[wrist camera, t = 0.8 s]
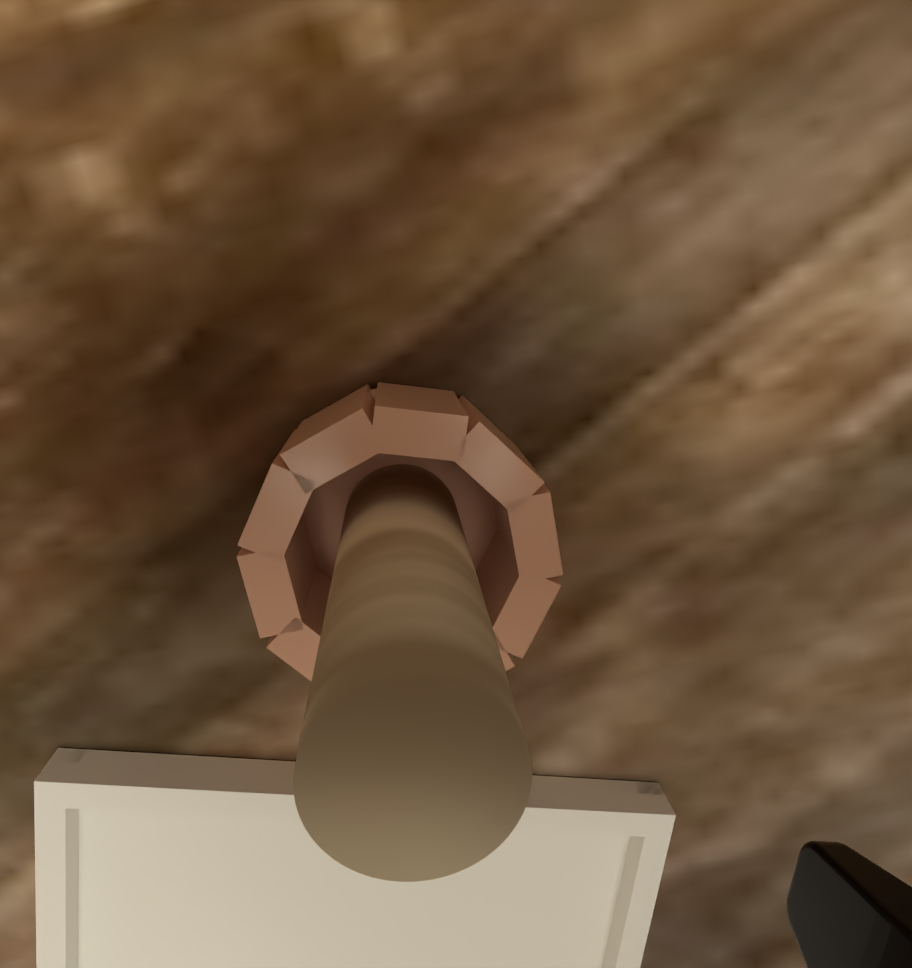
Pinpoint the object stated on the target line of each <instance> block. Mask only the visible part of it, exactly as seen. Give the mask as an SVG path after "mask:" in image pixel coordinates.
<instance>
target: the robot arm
mask: <svg viewBox="0 0 912 968" xmlns="http://www.w3.org/2000/svg"><path fill="white" fill-rule="evenodd" d="M787 913H788V918H789V921H790V925H791V927H792V930H793V932H794V935H795V938H796V940H797V943H798V945H799V948H800V951H801V953H802V956H803V958H804V961H805V964H806V966H807V968H912V887H911V886H909V885H907V884H906V883H904V882H903V881H901V880H900V879H898V878H896V877H895V876H893V875H892V874H890V873H889V872H887V871H885V870H884V869H882V868H881V867H879V866H878V865H876V864H874V863H873V862H871V861H870V860H868V859H867V858H865V857H863V856H862V855H860V854H859V853H857V852H856V851H854V850H853V849H851V848H849V847H848V846H846V845H844V844H842V843H838V842H823V841H810V842H807V843H806V844H805V845H804V846H803V847H802V848H801V851H800V854H799V857H798V861H797V864H796V868H795V871H794V875H793V878H792V882H791V885H790V889H789V892H788V896H787Z"/></svg>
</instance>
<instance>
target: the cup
mask: <svg viewBox="0 0 912 968" xmlns="http://www.w3.org/2000/svg"><path fill="white" fill-rule="evenodd" d="M396 464H408V465H414V466H418V467H421V468H424V469H426V470H428V471H430V472H431V473H433V474H435V475H436V476H437V477H438V478H440V479H441V480H442V481H443V482H444V484H445V485H446V486H447V487H448V489H449V490H450V492H451V494H452V496H453V498H454V501H455V504H456V507H457V511H458V514H459V518H460V521H461V524H462V528H463V531H464V534H465V538H466V541H467V544H468V548H469V551H470V554H471V558H472V561H473V564H474V568H475V571H476V574H477V578H478V581H479V584H480V588H481V591H482V594H483V598H484V601H485V604H486V608H487V611H488V614H489V618H490V621H491V624H492V628H493V631H494V634H495V638H496V641H497V644H498V648H499V651H500V654H501V658H502V661H503V664H504V668H505V671H507V670H509V669H511V668H512V667H514V666H515V665H514V662H513V659H512V656H511V654H512V655H515V656H518V657H520V658H523V657H524V655H525V653H526V651H527V649H528V648H529V646H530V644H531V642H532V640H533V638H534V636H535V634H536V632H537V631H538V629H539V627H540V625H541V623H542V621H543V619H544V617H545V616H546V614H547V612H548V610H549V608H550V606H551V604H552V602H553V600H554V599H555V597H556V595H557V593H558V591H559V589H560V587H561V584H560V582H559V580H558V578H557V577H556V576H560V575H563V570H562V563H561V557H560V551H559V544H558V538H557V532H556V526H555V519H554V513H553V507H552V500H551V494H550V491H549V490H548V489H547V487H546V486H545V485H544V483H545V482H544V480H543V479H542V478H541V477H540V475H539V474H538V473H537V472H536V470H535V469H534V468H533V467H532V465H531V464H530V463H529V461H528V460H527V459H526V458H525V456H524V455H523V454H522V453H521V451H520V450H519V449H518V447H517V446H516V445H515V444H514V443H513V442H512V441H511V440H510V439H509V438H508V437H507V436H505V435H504V434H503V433H502V432H501V431H500V430H499V429H498V428H497V427H496V426H495V425H494V424H493V423H492V422H490V421H489V420H488V419H487V418H486V417H485V416H484V415H483V414H482V413H481V412H480V411H479V410H478V409H477V408H476V407H474V406H473V405H472V404H471V403H470V402H469V401H468V400H467V399H466V398H465V397H464V396H463V395H462V396H461V397H460V398H459V399H458V398H457V396H456V395H455V393H454V391H450V390H441V389H433V388H424V387H416V386H407V385H399V384H390V383H382V382H378V383H377V388H374V389H371V388H370V387H369V385H368V384H367V385H365V386H363V387H362V388H360V389H358V390H356V391H355V392H353V393H351V394H349V395H347V396H346V397H344V398H342V399H340V400H339V401H337V402H335V403H333V404H331V405H330V406H328V407H326V408H324V409H323V410H321V411H319V412H317V413H315V414H314V415H312V416H310V417H308V418H307V419H305V420H303V421H302V422H301V423H300V425H299V426H298V428H297V429H295V430H294V431H293V433H292V434H291V436H290V437H289V439H288V440H287V442H286V443H285V445H284V446H283V448H282V449H281V451H280V452H279V454H278V455H277V457H276V458H275V460H274V461H273V463H272V465H271V467H270V469H269V472H268V474H267V476H266V479H265V481H264V483H263V486H262V488H261V491H260V493H259V495H258V498H257V500H256V502H255V505H254V507H253V509H252V512H251V514H250V516H249V519H248V521H247V523H246V526H245V528H244V530H243V533H242V535H241V538H240V540H239V542H238V545H237V546H240V547H242V548H241V550H240V551H239V553H238V555H237V560H238V564H239V567H240V571H241V574H242V578H243V581H244V585H245V588H246V592H247V595H248V599H249V602H250V605H251V609H252V612H253V616H254V619H255V623H256V626H257V630H258V633H259V637H260V638H264V637H269V636H270V638H269V641H268V644H267V647H266V648H268V649H269V650H270V651H272V652H273V653H274V654H276V655H277V656H278V657H279V658H281V659H282V660H283V661H285V662H286V663H287V664H289V665H290V666H291V667H293V668H294V669H295V670H297V671H298V672H299V673H301V674H302V675H303V676H305V677H306V678H307V679H309V680H310V681H311V682H312V677H313V672H314V667H315V661H316V656H317V651H318V646H319V641H320V636H321V631H322V626H323V621H324V616H325V611H326V606H327V601H328V596H329V591H330V586H331V581H332V576H333V571H334V566H335V561H336V556H337V551H338V546H339V541H340V536H341V531H342V525H343V520H344V515H345V510H346V506H347V502H348V499H349V497H350V495H351V493H352V491H353V490H354V488H355V487H356V486H357V484H358V483H359V482H360V481H361V480H362V479H363V478H364V477H366V476H367V475H368V474H370V473H371V472H373V471H375V470H377V469H379V468H382V467H385V466H389V465H396Z"/></svg>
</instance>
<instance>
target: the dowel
mask: <svg viewBox="0 0 912 968" xmlns="http://www.w3.org/2000/svg"><path fill="white" fill-rule="evenodd" d="M531 784H532V762H531V757H530V752H529V748H528V744H527V741H526V738H525V734H524V731H523V728H522V724H521V721H520V718H519V714H518V711H517V708H516V704H515V701H514V698H513V694H512V691H511V688H510V684H509V681H508V678H507V674H506V671H505V668H504V664H503V661H502V658H501V654H500V651H499V648H498V644H497V641H496V638H495V634H494V631H493V628H492V624H491V621H490V618H489V614H488V611H487V608H486V604H485V601H484V598H483V594H482V591H481V588H480V584H479V581H478V578H477V574H476V571H475V568H474V564H473V561H472V558H471V554H470V551H469V548H468V544H467V541H466V538H465V534H464V531H463V528H462V524H461V521H460V518H459V514H458V511H457V507H456V504H455V501H454V498H453V496H452V494H451V492H450V490H449V489H448V487H447V486H446V485H445V484H444V482H443V481H442V480H441V479H440V478H438V477H437V476H436V475H435V474H433V473H431V472H430V471H428V470H426V469H424V468H421V467H418V466H414V465H408V464H396V465H389V466H385V467H382V468H379V469H377V470H375V471H373V472H371V473H370V474H368V475H367V476H366V477H364V478H363V479H362V480H361V481H360V482H359V483H358V484H357V486H356V487H355V488H354V490H353V491H352V493H351V495H350V497H349V499H348V502H347V506H346V510H345V515H344V520H343V525H342V531H341V536H340V541H339V546H338V551H337V556H336V561H335V566H334V571H333V576H332V581H331V586H330V591H329V596H328V601H327V606H326V611H325V616H324V621H323V626H322V631H321V636H320V641H319V646H318V651H317V656H316V661H315V667H314V672H313V677H312V682H311V687H310V692H309V697H308V702H307V707H306V712H305V717H304V722H303V727H302V732H301V737H300V742H299V747H298V752H297V757H296V762H295V768H294V775H293V792H294V799H295V804H296V808H297V811H298V814H299V817H300V819H301V821H302V823H303V825H304V827H305V829H306V830H307V832H308V833H309V835H310V836H311V838H312V839H313V840H314V842H315V843H316V844H317V845H318V846H319V847H320V848H321V849H322V850H323V851H324V852H325V853H326V854H328V855H329V856H330V857H331V858H332V859H334V860H335V861H337V862H339V863H340V864H342V865H343V866H345V867H347V868H349V869H351V870H353V871H355V872H357V873H360V874H363V875H366V876H369V877H372V878H377V879H382V880H387V881H398V882H417V881H426V880H433V879H437V878H441V877H445V876H448V875H451V874H454V873H457V872H460V871H462V870H464V869H466V868H468V867H470V866H472V865H474V864H476V863H477V862H479V861H481V860H482V859H484V858H485V857H487V856H488V855H489V854H490V853H492V852H493V851H494V850H495V849H497V848H498V847H499V846H500V845H501V844H502V843H503V842H504V841H505V840H506V839H507V838H508V836H509V835H510V834H511V832H512V831H513V830H514V828H515V827H516V825H517V824H518V822H519V820H520V818H521V817H522V815H523V813H524V810H525V808H526V805H527V803H528V799H529V795H530V791H531Z"/></svg>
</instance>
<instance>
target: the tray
mask: <svg viewBox="0 0 912 968" xmlns="http://www.w3.org/2000/svg"><path fill="white" fill-rule="evenodd" d="M294 768H295V761H277V760H260V759H243V758H226V757H209V756H191V755H174V754H157V753H140V752H122V751H105V750H88V749H71V748H58V749H57V750H56V752H55V753H54V754H53V756H52V757H51V758H50V760H49V761H48V763H47V764H46V765H45V767H44V768H43V770H42V771H41V772H40V774H39V775H38V777H37V778H36V779H35V781H34V811H35V884H36V958H37V968H640V966H641V962H642V957H643V953H644V949H645V945H646V940H647V936H648V932H649V928H650V923H651V919H652V915H653V911H654V906H655V902H656V898H657V894H658V889H659V885H660V881H661V876H662V872H663V868H664V864H665V859H666V855H667V851H668V847H669V842H670V838H671V834H672V830H673V825H674V821H675V817H676V815H675V813H674V811H673V809H672V807H671V805H670V804H669V802H668V800H667V798H666V796H665V794H664V792H663V791H662V789H661V787H660V785H659V783H656V782H639V781H622V780H605V779H587V778H570V777H553V776H536V775H532V784H531V791H530V795H529V799H528V803H527V805H526V808H525V810H524V813H523V815H522V817H521V818H520V820H519V822H518V824H517V825H516V827H515V828H514V830H513V831H512V832H511V834H510V835H509V836H508V838H507V839H506V840H505V841H504V842H503V843H502V844H501V845H500V846H499V847H498V848H497V849H495V850H494V851H493V852H492V853H490V854H489V855H488V856H487V857H485V858H484V859H482V860H481V861H479V862H477V863H476V864H474V865H472V866H470V867H468V868H466V869H464V870H462V871H460V872H457V873H454V874H451V875H448V876H445V877H441V878H437V879H433V880H426V881H417V882H398V881H387V880H382V879H377V878H372V877H369V876H366V875H363V874H360V873H357V872H355V871H353V870H351V869H349V868H347V867H345V866H343V865H342V864H340V863H339V862H337V861H335V860H334V859H332V858H331V857H330V856H329V855H328V854H326V853H325V852H324V851H323V850H322V849H321V848H320V847H319V846H318V845H317V844H316V843H315V842H314V840H313V839H312V838H311V836H310V835H309V833H308V832H307V830H306V829H305V827H304V825H303V823H302V821H301V819H300V817H299V814H298V811H297V808H296V804H295V799H294V792H293V775H294Z"/></svg>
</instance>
